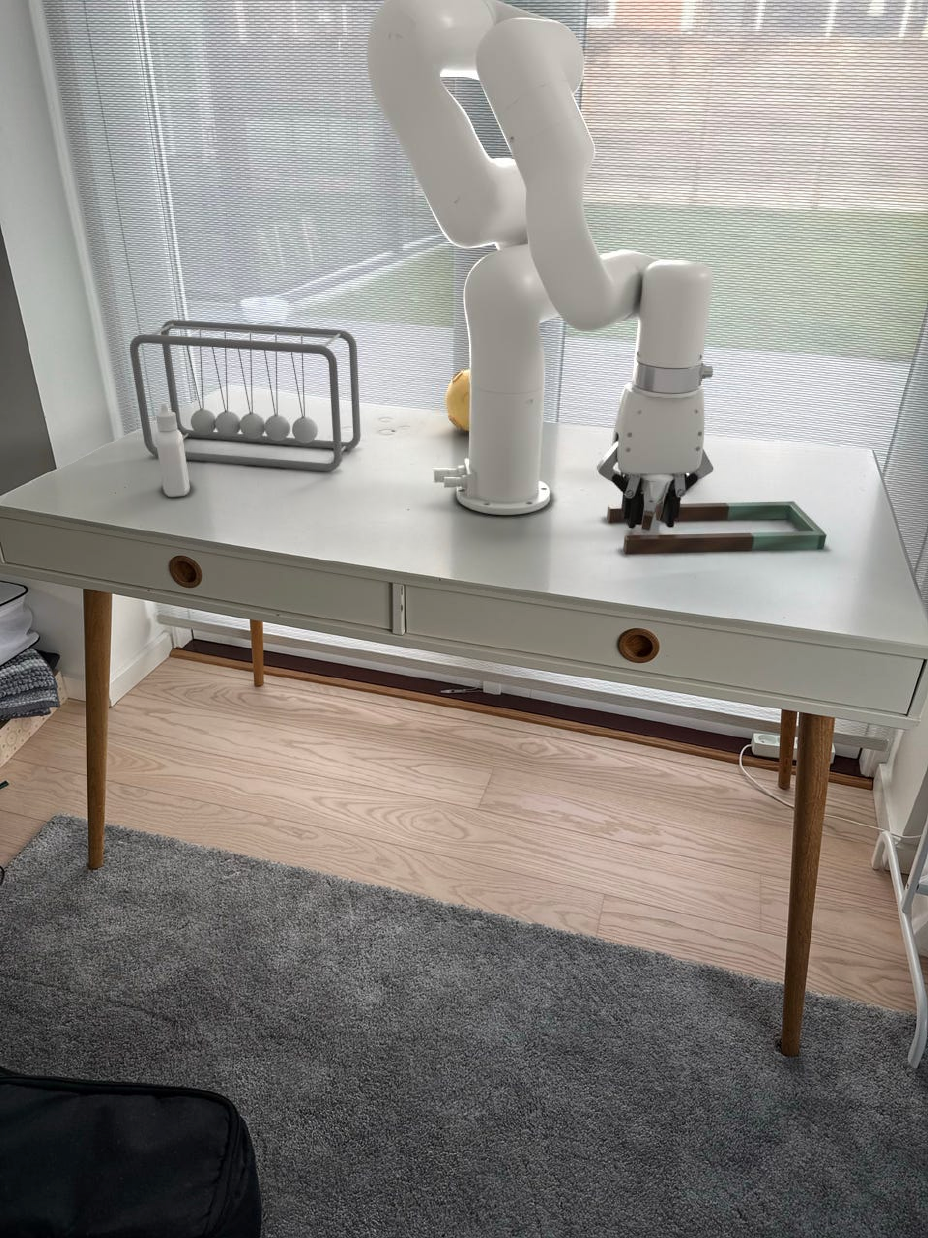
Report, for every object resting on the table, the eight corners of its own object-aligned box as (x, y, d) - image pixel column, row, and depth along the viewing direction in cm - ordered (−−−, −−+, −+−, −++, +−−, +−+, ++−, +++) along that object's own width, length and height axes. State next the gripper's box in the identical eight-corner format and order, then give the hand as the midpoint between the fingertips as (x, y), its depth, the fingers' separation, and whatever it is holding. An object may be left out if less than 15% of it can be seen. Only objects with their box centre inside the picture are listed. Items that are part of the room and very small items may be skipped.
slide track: (625, 554, 113) (627, 539, 112) (606, 519, 122) (608, 504, 121) (823, 549, 115) (827, 534, 114) (790, 515, 124) (793, 501, 123)
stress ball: (439, 422, 155) (439, 361, 150) (497, 419, 157) (499, 358, 152) (453, 442, 147) (453, 378, 142) (514, 438, 149) (516, 375, 144)
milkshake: (668, 545, 116) (684, 467, 111) (624, 538, 116) (638, 461, 111) (669, 531, 120) (684, 455, 115) (626, 524, 120) (640, 449, 115)
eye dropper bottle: (201, 484, 131) (189, 398, 125) (182, 499, 126) (169, 411, 120) (172, 481, 132) (159, 396, 126) (152, 496, 127) (137, 408, 121)
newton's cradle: (362, 449, 144) (357, 329, 135) (341, 473, 135) (334, 347, 126) (177, 434, 148) (160, 318, 140) (145, 457, 140) (125, 334, 131)
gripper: (727, 367, 112) (705, 510, 121) (587, 368, 111) (575, 513, 120) (749, 385, 106) (724, 535, 115) (600, 386, 104) (587, 538, 113)
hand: (648, 522), depth 117 cm, fingers closed on milkshake, 4 cm apart
